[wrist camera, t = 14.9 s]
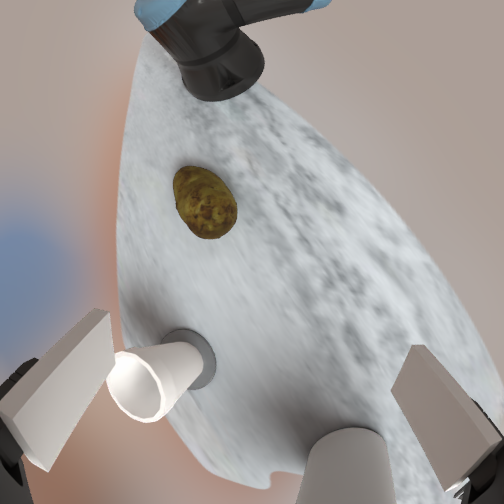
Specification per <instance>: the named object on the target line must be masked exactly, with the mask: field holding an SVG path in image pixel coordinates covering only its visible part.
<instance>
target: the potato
mask: <svg viewBox="0 0 504 504" xmlns="http://www.w3.org/2000/svg"><path fill="white" fill-rule="evenodd" d="M173 190H174V196H175V200H176V209H177V210H178V213H179V215H180V217H181V218H182V220H183V221H184V222H185V223H186V224H187V226H188V227H189V229H190V230H191V231H192V232H193V233H194V234H195V235H196V236H198V237H200V238H203V239H217V238H220V237H221V236H223V235H225V234H226V233H227V232H228V231H230V229H231V228H232V227H233V225H234V224H235V223H236V220H237V203H236V202H235V199H234V197H233V195H232V194H231V192H230V190H229V189H228V188H227V186H226V185H225V184H224V182H223V181H222V180H221V179H220V178H219V177H218V176H217V175H215V174H214V173H213V172H211V171H209V170H207V169H204V168H201V167H196V166H185V167H182V168H181V169H180V170H179V171H178V172H177V173H176V174H175V176H174V179H173Z"/></svg>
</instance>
